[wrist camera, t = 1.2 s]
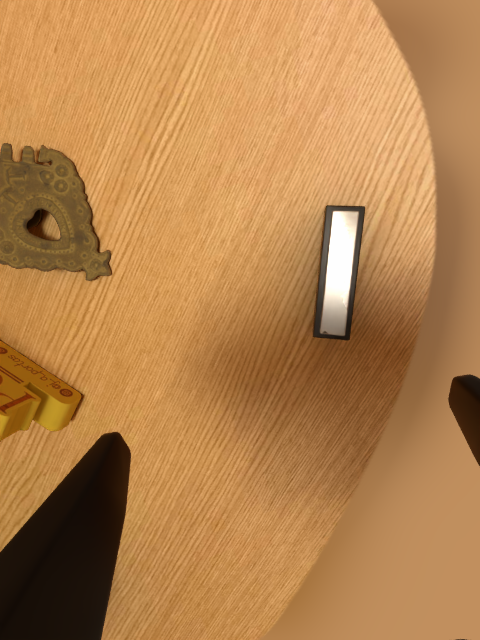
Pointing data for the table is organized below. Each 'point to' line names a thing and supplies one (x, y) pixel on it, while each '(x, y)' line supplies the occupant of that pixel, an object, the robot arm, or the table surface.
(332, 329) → the black and silver bar
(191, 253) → the table surface
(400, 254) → the table surface
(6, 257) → the ornament
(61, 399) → the decorative sign
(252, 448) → the table surface
